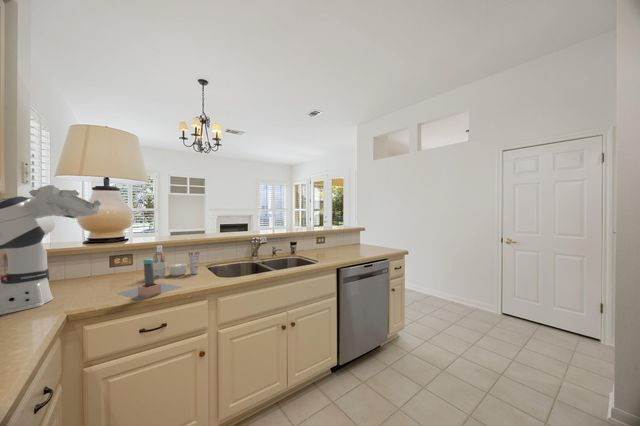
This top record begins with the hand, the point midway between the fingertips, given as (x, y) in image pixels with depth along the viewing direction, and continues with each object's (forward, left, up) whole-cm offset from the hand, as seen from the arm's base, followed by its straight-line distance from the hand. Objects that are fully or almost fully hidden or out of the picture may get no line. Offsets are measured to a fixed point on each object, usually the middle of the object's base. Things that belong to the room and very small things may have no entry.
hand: (89, 197), depth 100 cm
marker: (+20, -4, -44) cm, 49 cm away
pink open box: (+20, -4, -45) cm, 49 cm away
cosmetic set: (+49, +18, -46) cm, 69 cm away
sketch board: (+24, +2, -46) cm, 52 cm away
